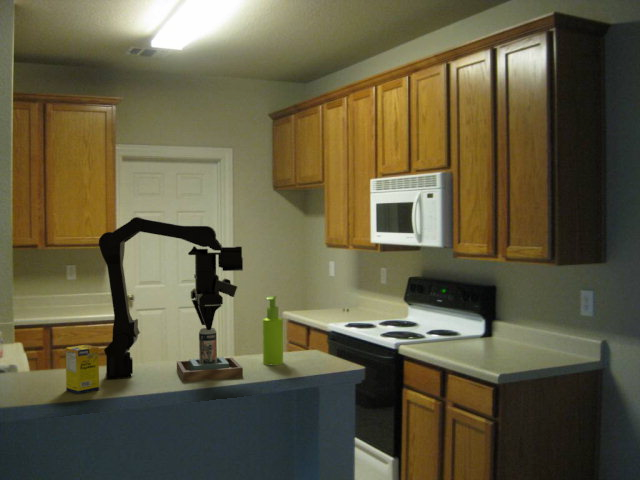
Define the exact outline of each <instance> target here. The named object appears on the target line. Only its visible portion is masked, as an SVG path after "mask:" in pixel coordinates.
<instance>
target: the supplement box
mask: <svg viewBox="0 0 640 480" xmlns="http://www.w3.org/2000/svg"><path fill="white" fill-rule="evenodd" d="M99 359H100V358H99V347H98V346H93V345H90V344H82V345H75V346H68V347H65V375H66V376H65V380H66V383H65V386H66V387H65V389H66V391H68V392H71V393H75V394H76V395H79V394H80V395H81V394H84V393H90V392H95V391H99V390H100V372H99V371H100V370H99V369H100V368H99V366H100V364H99Z"/></svg>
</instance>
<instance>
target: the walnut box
mask: <svg viewBox="0 0 640 480" xmlns="http://www.w3.org/2000/svg"><path fill="white" fill-rule="evenodd" d="M224 358H225V360H226V361H227V362H228V363H229V368H223V369H210V370H196V371H190V370H189V360H176V372H177V373H178V375H179V377H180V379H181V380H182V382H183V383H184V382H195V381H197V382H198V381H207V380H208V381H209V380H211V381H212V380H220V379H222V380H223V379H232V378H233V379H234V378H243V377H244V373H243V372H244V369H243V366H241V364H240V363H238V361H236V360H235V359H234V357H231V356H230V357H224Z"/></svg>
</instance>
